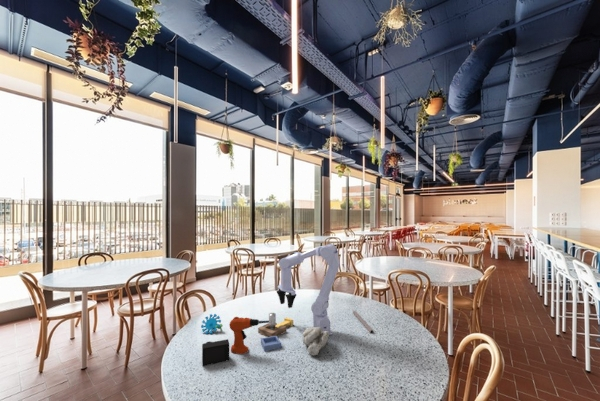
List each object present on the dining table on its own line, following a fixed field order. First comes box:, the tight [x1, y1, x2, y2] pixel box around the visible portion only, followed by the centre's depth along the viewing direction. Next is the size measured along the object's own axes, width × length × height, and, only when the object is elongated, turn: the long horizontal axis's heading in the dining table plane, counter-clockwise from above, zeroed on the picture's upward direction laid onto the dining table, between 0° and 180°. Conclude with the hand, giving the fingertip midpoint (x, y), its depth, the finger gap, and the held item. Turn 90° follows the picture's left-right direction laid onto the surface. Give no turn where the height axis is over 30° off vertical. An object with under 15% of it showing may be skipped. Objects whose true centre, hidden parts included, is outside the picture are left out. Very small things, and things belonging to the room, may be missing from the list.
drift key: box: [276, 317, 294, 328], centre depth 140 cm, size 5×10×3 cm, turn 140°
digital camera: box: [201, 338, 230, 367], centre depth 109 cm, size 10×5×7 cm, turn 111°
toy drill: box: [229, 316, 269, 355], centre depth 115 cm, size 5×19×15 cm, turn 79°
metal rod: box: [352, 310, 375, 334], centre depth 145 cm, size 2×27×2 cm, turn 7°
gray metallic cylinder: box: [268, 312, 277, 330], centre depth 134 cm, size 3×3×9 cm
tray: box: [260, 336, 282, 352], centre depth 120 cm, size 8×8×2 cm
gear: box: [200, 313, 223, 335], centre depth 137 cm, size 11×6×10 cm
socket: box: [257, 322, 290, 337], centre depth 136 cm, size 10×15×2 cm, turn 140°
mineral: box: [302, 327, 330, 356], centre depth 118 cm, size 12×17×10 cm
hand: (286, 305), depth 143 cm, fingers open, 7 cm apart
